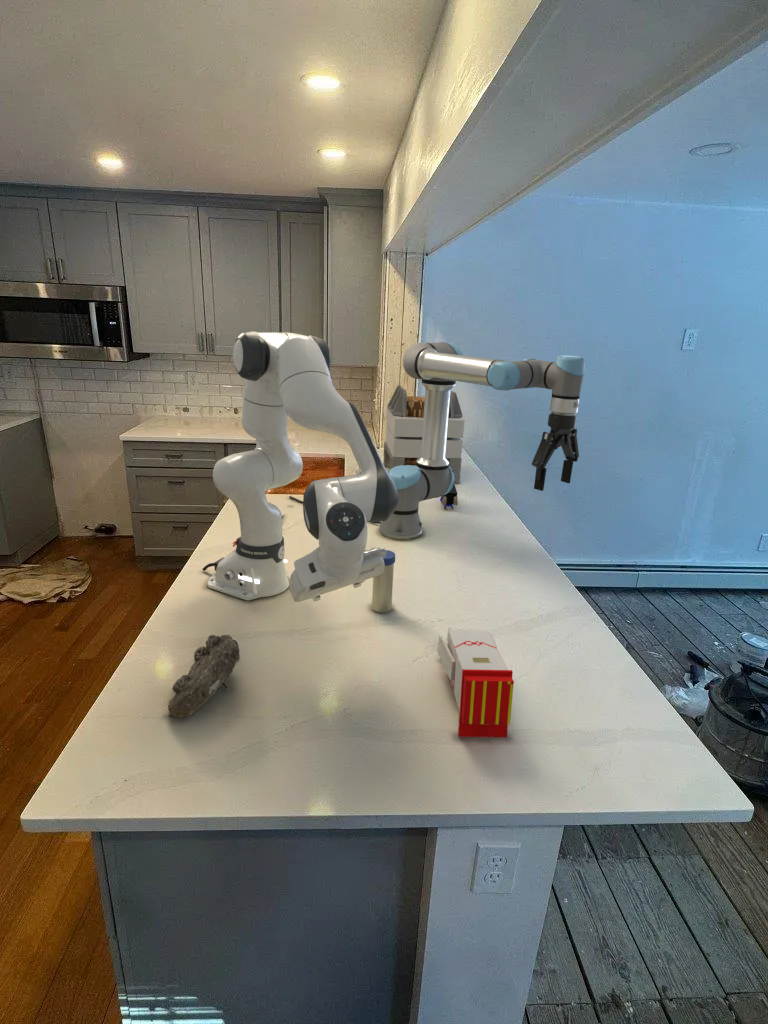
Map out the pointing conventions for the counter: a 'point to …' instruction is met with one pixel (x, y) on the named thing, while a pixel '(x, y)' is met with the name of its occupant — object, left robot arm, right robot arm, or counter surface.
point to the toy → (478, 682)
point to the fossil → (204, 675)
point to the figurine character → (450, 498)
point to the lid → (389, 558)
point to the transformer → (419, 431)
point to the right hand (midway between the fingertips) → (552, 485)
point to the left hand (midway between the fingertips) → (336, 591)
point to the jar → (383, 590)
